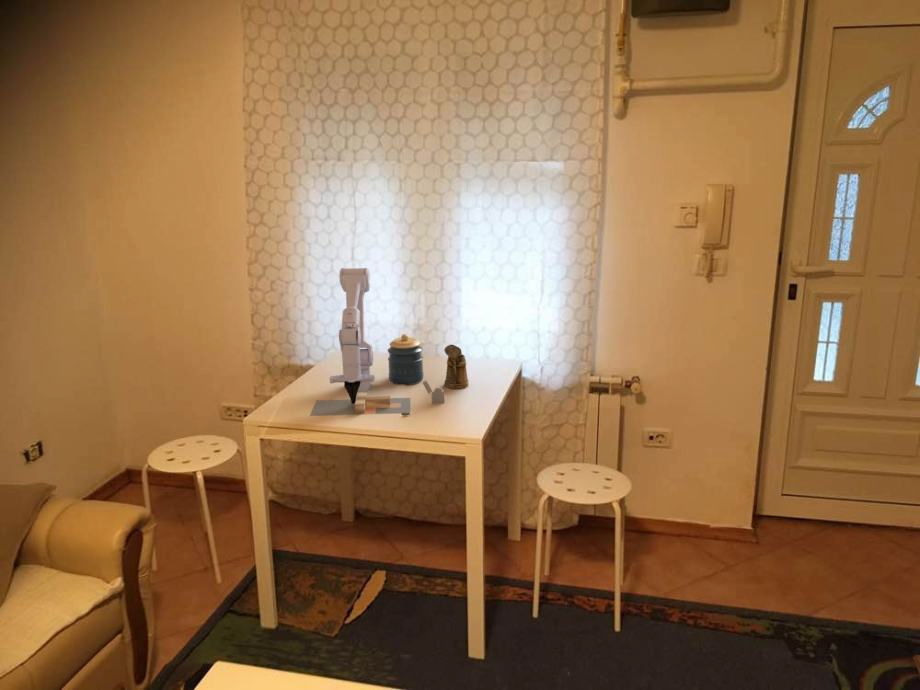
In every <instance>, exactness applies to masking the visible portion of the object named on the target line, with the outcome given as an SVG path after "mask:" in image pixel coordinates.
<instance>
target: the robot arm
mask: <svg viewBox="0 0 920 690" xmlns="http://www.w3.org/2000/svg"><path fill="white" fill-rule="evenodd" d="M370 276H371V272H370V269H369V268H368V267H363V268H362V267H361V268H357V267H353V268H352V267H351V268H345V267H344V268H340V269H339V276H338V277H339V284H340V286H341V289H342V290H343V292H345V296H346V297H345V298H346V299H345V301H346V303H345V304H346V305H345V306H346V308H344V309H343V310H342V315H341V316H342V317H341V318H342V319H341V329H339V331H338V332H339V333H338V341H339V342H338V343H339V347H340V352H341V359H342V360H341V361H342V373H343V374H339V375H330V377H329V384H335V383H336V384H337V383H343V386H344V389H345V390H346V392H347V394H348V396H349V399H351V403H352V404H355V402H356V399H357V395H358V392H368V391H371V387H372V386H374V384H373V383H375V381H376V379H375V377H376V375H375V374H371V371H370V370H371V369H370V368H371V367H373V365H374V351H373V350H374V349H373V345H372V344H371V342H369V341H368V340H366V339H365V306H364V304H365V303H364V302H365V301H364V299H365V293H367V292H370V288H371V284H370V283H371V277H370Z"/></svg>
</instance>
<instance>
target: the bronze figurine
mask: <svg viewBox="0 0 920 690" xmlns="http://www.w3.org/2000/svg"><path fill="white" fill-rule="evenodd" d="M444 353H445V355H446V356H448V357H447V359H446V366H447V367H446V374H445V380H444V387H445V388H447V389H451V390H460V389H462V388H463V389H466V388H468V387H469V379H468V372H467V366H466V365H467V360H466V358H465V357H466V356H465V354H462V353H463V352H462V349H461V348H460V347H459V346H457V345H454V344H449V345H446V347H445V348H444Z"/></svg>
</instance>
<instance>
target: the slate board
mask: <svg viewBox="0 0 920 690" xmlns="http://www.w3.org/2000/svg"><path fill="white" fill-rule="evenodd" d="M390 402H391V405H390V407H383V408H366V409H365V413H355V404H352V403H351V399H350V398H348V399H318V400H317V399H316V401H315V403H314V405H313V408H312V410H311V411H310V412H311V413H310V414H309V417H315V416H316V417H317V416H320V417H321V416H349V415H350V416H353V415H382V414H383V415H385V414H388V415H389V414H401V415H409V416H410V413H411V397H390Z"/></svg>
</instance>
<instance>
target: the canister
mask: <svg viewBox="0 0 920 690" xmlns="http://www.w3.org/2000/svg"><path fill="white" fill-rule="evenodd" d="M389 346H390V347H388V349H387V353H389V354H388V356H389V357H388V358H387V360H388V379H389V382H390V383H392V384H395V385H405V386H408V385H415V384H419V383H421V382H423V380H424V375H425V374H424V368H423V367H424V361H423V360H424V356H423V355H422V353H423V350H424V349H423V347H422V346H421V341H419V340H417V339H416V338H414V337H409V335H408V334H407V333H403V334H402V335H401V336H400V337H397V338H395V339H393V340H392V341H390V343H389Z"/></svg>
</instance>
